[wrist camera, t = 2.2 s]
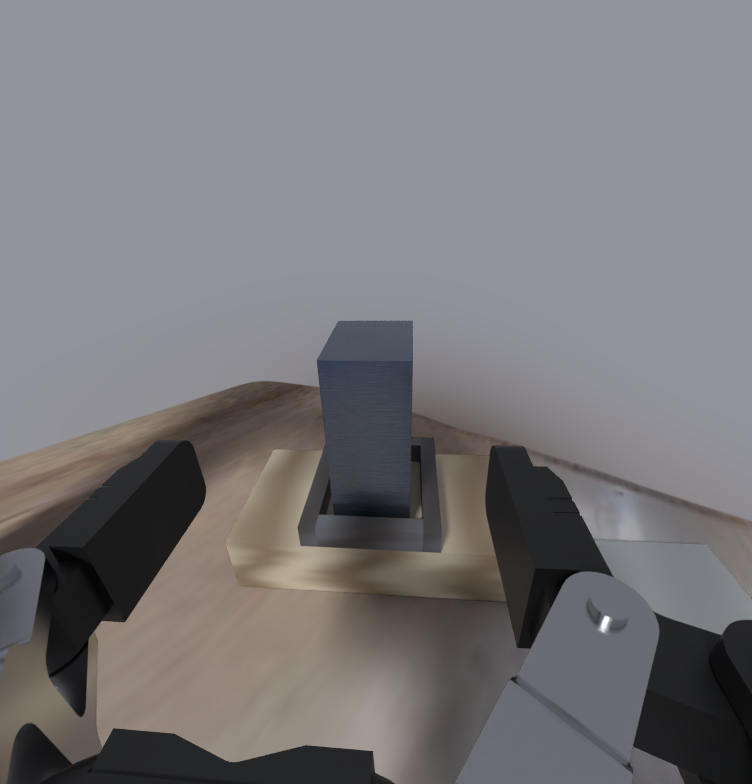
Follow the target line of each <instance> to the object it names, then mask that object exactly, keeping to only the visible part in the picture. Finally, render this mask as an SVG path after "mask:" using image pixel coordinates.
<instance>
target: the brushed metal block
mask: <svg viewBox="0 0 752 784" xmlns="http://www.w3.org/2000/svg"><path fill="white" fill-rule="evenodd" d="M412 323H413V321H338V323H337V324H336V327H335V328H334V330H333V332H332V334H331V335H330V337H329V339H328V341H327V343H326V345H325V346H324V348H323V350H322V352H321V354H320V356H319V357H318V359H317V365H318V375H319V385H320V394H321V403H322V412H323V421H324V430H325V439H326V449H327V458H328V467H329V476H330V485H331V494H332V503H333V513H334V515H339V516H363V517H386V518H409V519H410V475H411V424H412V374H413V373H412V372H413V370H412V369H413V325H412Z"/></svg>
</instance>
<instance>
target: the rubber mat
mask: <svg viewBox="0 0 752 784" xmlns="http://www.w3.org/2000/svg"><path fill="white" fill-rule="evenodd" d="M594 541H595V543H596V545H597V547H598V548H599V550H600V552H601V554H602V556H603V558H604V560H605V562H606V564H607V565H608V567H609V569H610V571H611V573H612V575H613V576H614V578H616V579H618V580H620V581H622V582H623V583H625V584H627V585H628V586H630V587H631V588H632V589H634V590H635V591H636V592H637V593H638V594H639V595H641V596H642V598H643V599H644V600H645V601H646V602H647V603H648V605H649V606H650V607H651V609H652V610H653V611H654V612H656V613H658V614H660V615H662V616H665V617H668V618H670V619H673V620H676V621H679V622H682V623H685V624H689V625H692V626H695V627H698V628H701V629H704V630H707V631H710V632H713V633H716V634H720V635H722V633H723V632H724V630H725V629H726V627H727V626H728V625H729V624H730V623H732V622H735V621H738V620H752V598H751V597H750V596H749V595H748V593H747V592H746V591H745V590H744V589H743V587H742V586H741V585H740V584H739V582H738V581H737V580H736V579H735V578H734V576H733V575H732V574H731V573H730V572H729V570H728V569H727V568H726V567H725V566H724V564H723V563H722V562H721V561H720V559H719V558H718V557H717V556H716V555H715V553H714V552H713V551H712V550H711V549H710V547H709V546H708V545H707V544H686V543H664V542H642V541H620V540H599V539H594Z"/></svg>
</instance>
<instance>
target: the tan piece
mask: <svg viewBox="0 0 752 784" xmlns="http://www.w3.org/2000/svg"><path fill="white" fill-rule="evenodd" d="M489 457H490V455H455V454H435V447H434V438H424V437H411V475H410V519H409V518H386V517H363V516H339V515H334V513H333V503H332V494H331V485H330V476H329V467H328V458H327V449H326V443H325V446H324V449H323V451H315V450H279V449H274V450H273V452H272V454H271V456H270V458H269V460H268V462H267V464H266V466H265V468H264V470H263V471H262V473H261V475H260V477H259V479H258V481H257V483H256V485H255V487H254V489H253V491H252V492H251V494H250V496H249V498H248V500H247V502H246V504H245V506H244V508H243V510H242V512H241V513H240V515H239V517H238V519H237V521H236V523H235V525H234V527H233V529H232V531H231V533H230V535H229V536H228V538H227V540H226V545H227V549H228V552H229V555H230V558H231V562H232V565H233V568H234V571H235V575H236V578H237V581H238V584H239V586H252V587H268V588H285V589H301V590H318V591H334V592H351V593H368V594H384V595H401V596H417V597H434V598H450V599H467V600H483V601H500V602H507V601H506V597H505V593H504V589H503V584H502V580H501V576H500V571H499V567H498V563H497V559H496V554H495V550H494V546H493V542H492V537H491V533H490V529H489V524H488V520H487V515H486V507H485V491H486V483H487V474H488V466H489Z"/></svg>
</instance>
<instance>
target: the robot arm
mask: <svg viewBox="0 0 752 784" xmlns="http://www.w3.org/2000/svg"><path fill="white" fill-rule="evenodd" d="M205 495H206V486H205V482H204V479H203V475H202V472H201V469H200V466H199V463H198V460H197V457H196V453H195V450H194V447H193V445H192V444H191V443H190V442H189V441H181V440H159V441H157V442H155V443H154V444H153V445H152V446H151V447H150V448H149V449H148V450H147V451H146V452H145V453H144V454H142V455H141V456H140V457H139V458H138V459H136V460H134V461H133V462H131V463H129V464H128V465H126V466H124V467H123V468H121V469H119V470H118V471H117V472H116V473H115V474H113V475H112V476H111V477H110V478H109V479H108V480H107V481H106V482H105V483H104V484H103V485H102V488H99V489H98V490H96V491H95V492H94V493H93V494H92V495H91V496H90V497H89V498H90V499H89V500H86V501H85V502H84V503H83V504H82V505H81V506H80V507H78V508H77V509H76V510H75V511H74V512H73V513H72V514H71V515H70V516H69V517H68V518H67V519H66V520H65V521H64V522H63V523H61V524H60V525H59V526H58V527H57V528H56V529H55V530H54V531H53V532H52V533H51V534H50V535H49V536H48V537H47V538H46V539H45V540H43V541H42V542H41V543H40V544H39V545H38V546H37V547H36V548H24V549H18V550H14V551H11V552H8V553H5V554H3V555H0V784H395V783H393V782H392V781H390V780H389V779H387V778H384V777H382V776H380V775H378V774H376V773H375V768H374V758H373V751H364V750H353V749H341V748H330V747H319V746H307V745H305V746H301V747H297V748H293V749H289V750H285V751H281V752H277V753H273V754H269V755H265V756H261V757H257V758H253V759H249V760H245V761H240V762H228V761H225V760H223V759H221V758H219V757H217V756H216V755H214V754H212V753H210V752H208V751H206V750H204V749H202V748H200V747H198V746H196V745H195V744H193V743H191V742H189V741H187V740H185V739H183V738H181V737H179V736H177V735H175V734H171V733H159V732H148V731H137V730H125V729H114V728H113V730H112V732H111V734H110V736H109V737H108V739H107V741H106V743H105V745H104V746H103V748H102V745H101V742H100V740H99V736H98V732H97V724H96V707H97V657H98V640H97V637H96V635H95V633H94V631H95V629H96V628H97V626H98V625H99V624H100V622H101V621H113V622H125V621H126V620H127V618H128V617H129V615H130V614H131V612H132V611H133V609H134V608H135V606H136V605H137V603H138V602H139V600H140V599H141V597H142V596H143V594H144V593H145V591H146V590H147V588H148V587H149V585H150V584H151V582H152V581H153V579H154V578H155V576H156V575H157V573H158V572H159V570H160V569H161V567H162V566H163V564H164V563H165V561H166V560H167V558H168V557H169V555H170V554H171V552H172V551H173V549H174V548H175V546H176V545H177V543H178V542H179V541H180V539H181V538H182V536H183V535H184V533H185V532H186V530H187V529H188V527H189V526H190V524H191V523H192V521H193V520H194V518H195V517H196V515H197V514H198V512H199V511H200V509H201V507H202V506H203V503H204V500H205ZM485 507H486V515H487V520H488V524H489V529H490V533H491V537H492V542H493V546H494V550H495V554H496V559H497V563H498V567H499V571H500V576H501V580H502V584H503V589H504V593H505V597H506V601H507V606H508V610H509V614H510V619H511V623H512V627H513V631H514V636H515V640H516V644H517V648H528V649H530V651H529V653H528V655H527V657H526V659H525V661H524V663H523V665H522V667H521V669H520V671H519V672H518V674H517V676H516V677H515V678H514V677H512V678H511V679H510V680H509V682H508V683H507V685H506V686H505V688H504V690H503V691H502V693H501V695H500V697H499V699H498V701H497V703H496V705H495V707H494V708H493V710H492V712H491V714H490V716H489V718H488V720H487V722H486V724H485V726H484V728H483V730H482V732H481V734H480V736H479V737H478V739H477V741H476V743H475V745H474V747H473V749H472V751H471V753H470V755H469V757H468V759H467V761H466V763H465V765H464V766H463V768H462V770H461V772H460V774H459V776H458V778H457V780H456V782H455V784H632V779H633V769H632V767H631V766H630V758H631V752H632V748H633V747H635V748H638V749H640V750H642V751H644V752H647V753H649V754H651V755H653V756H656V757H658V758H660V759H662V760H665V761H667V762H669V763H671V764H674V765H676V766H678V769H679V771H680V774H681V776H682V778H683V781H684V783H685V784H752V620H738V621H735V622H732V623H730V624H729V625H728V626H727V627H726V629H725V630H724V632H723V633H722V635H720V634H716V633H713V632H710V631H707V630H704V629H701V628H698V627H695V626H692V625H689V624H685V623H682V622H679V621H676V620H673V619H670V618H668V617H665V616H662V615H660V614H658V613H656V612H654V611H653V610H652V609H651V607H650V606H649V605H648V603H647V602H646V601H645V600H644V599H643V598H642V596H641V595H639V594H638V593H637V592H636V591H635V590H634V589H632V588H631V587H630V586H628V585H627V584H625V583H623V582H622V581H620V580H618V579H616V578H614V576H613V575H612V573H611V571H610V569H609V567H608V565H607V564H606V562H605V560H604V558H603V556H602V554H601V552H600V550H599V548H598V547H597V545H596V543H595V541H594V539H593V537H592V535H591V533H590V531H589V529H588V528H587V526H586V524H585V522H584V520H583V518H582V516H580V515H579V513H580V512H579V511H578V509H577V507H576V505H575V503H574V502H573V501H572V497H571V495H570V493H569V492H568V490H567V488H566V486H565V484H564V482H563V481H562V480H561V479H560V478H559V477H558V476H557V475H555V474H554V473H553V472H552V471H551V470H550V469H549V468H547V467H534V466H533V465H532V463H531V460H530V458H529V456H528V454H527V452H526V449H525V448H524V447H523V446H492V447H491V450H490V457H489V466H488V474H487V483H486V491H485Z"/></svg>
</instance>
